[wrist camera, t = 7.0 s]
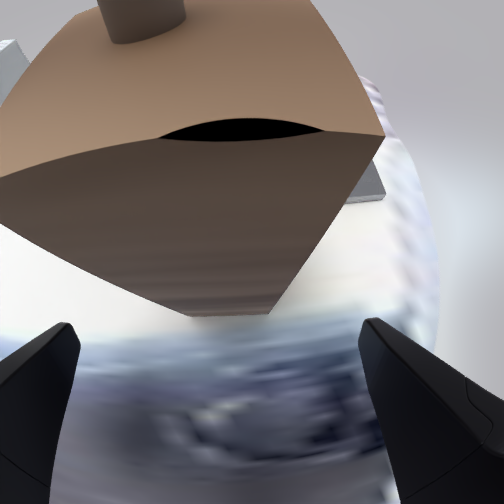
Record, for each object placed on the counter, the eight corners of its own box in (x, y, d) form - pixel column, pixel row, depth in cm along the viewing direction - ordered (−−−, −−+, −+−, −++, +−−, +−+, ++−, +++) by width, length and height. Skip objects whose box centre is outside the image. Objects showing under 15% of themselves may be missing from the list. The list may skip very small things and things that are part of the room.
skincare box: (81, 133, 19) (20, 33, 8) (47, 170, 18) (-30, 81, 7) (57, 116, 20) (6, 35, 9) (27, 147, 19) (-33, 73, 8)
